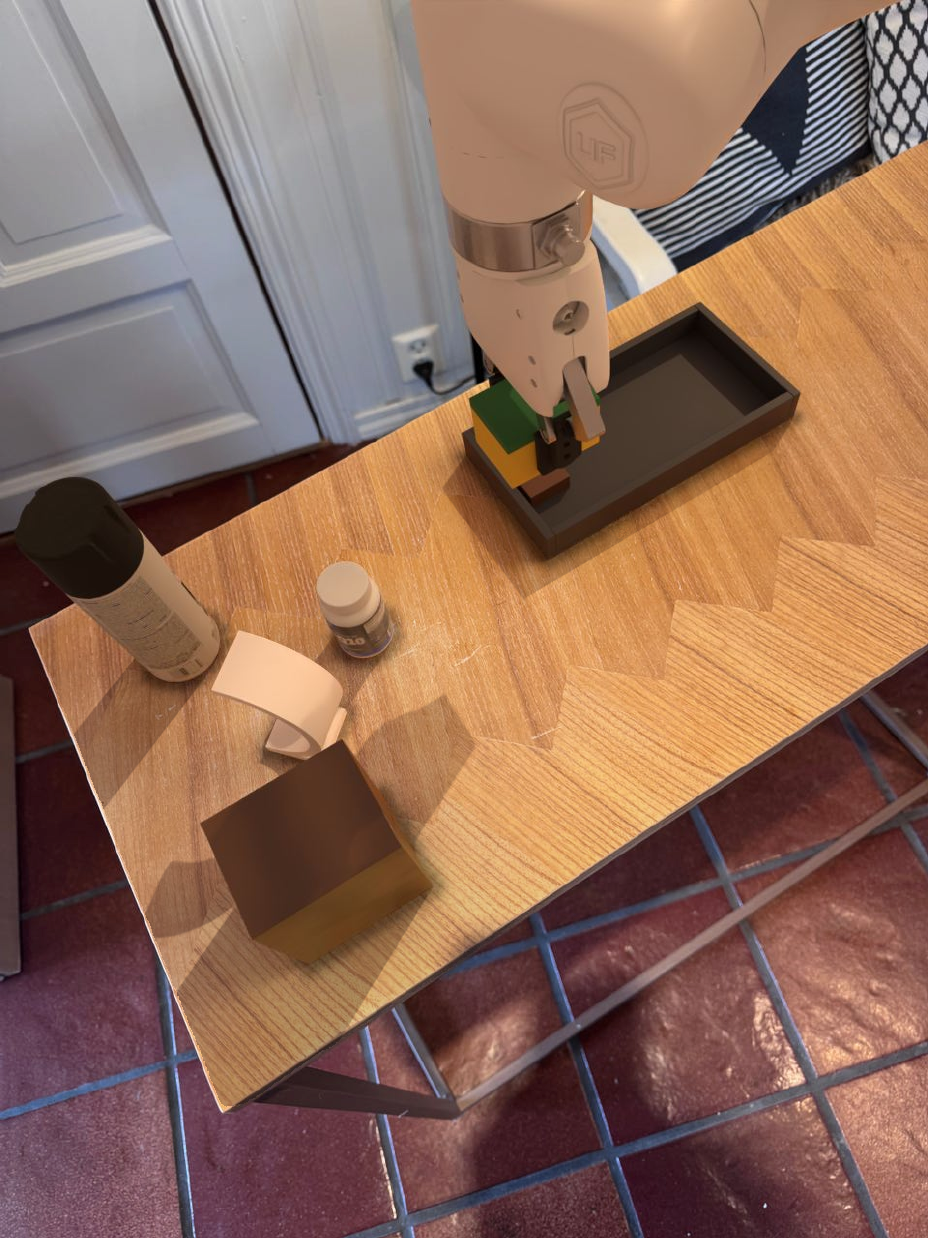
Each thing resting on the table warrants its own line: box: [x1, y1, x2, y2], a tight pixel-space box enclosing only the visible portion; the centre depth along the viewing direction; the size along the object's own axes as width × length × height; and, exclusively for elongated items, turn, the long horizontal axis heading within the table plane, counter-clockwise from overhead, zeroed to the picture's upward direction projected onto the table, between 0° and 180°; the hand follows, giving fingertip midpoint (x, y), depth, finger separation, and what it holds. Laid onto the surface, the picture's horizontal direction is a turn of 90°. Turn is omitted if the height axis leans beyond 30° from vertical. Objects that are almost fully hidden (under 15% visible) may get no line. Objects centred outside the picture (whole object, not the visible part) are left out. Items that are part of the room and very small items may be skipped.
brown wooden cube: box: [199, 738, 434, 965], centre depth 58 cm, size 10×8×12 cm
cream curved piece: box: [210, 629, 348, 761], centre depth 64 cm, size 5×6×12 cm
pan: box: [461, 301, 802, 560], centre depth 77 cm, size 26×14×3 cm, turn 121°
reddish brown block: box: [516, 468, 570, 508], centre depth 76 cm, size 4×4×2 cm
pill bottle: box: [315, 560, 394, 659], centre depth 69 cm, size 5×5×8 cm
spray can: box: [13, 476, 221, 683], centre depth 65 cm, size 7×7×20 cm
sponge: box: [468, 379, 600, 489], centre depth 60 cm, size 7×5×4 cm
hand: (536, 434), depth 61 cm, fingers closed on sponge, 5 cm apart
